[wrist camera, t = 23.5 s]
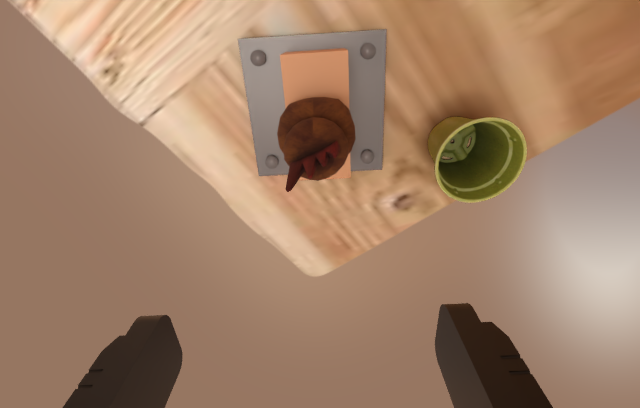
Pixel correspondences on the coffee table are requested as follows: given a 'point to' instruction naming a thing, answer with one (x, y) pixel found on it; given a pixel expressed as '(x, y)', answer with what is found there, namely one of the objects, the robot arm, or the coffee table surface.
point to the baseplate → (270, 103)
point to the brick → (317, 81)
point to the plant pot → (476, 156)
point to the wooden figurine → (315, 138)
